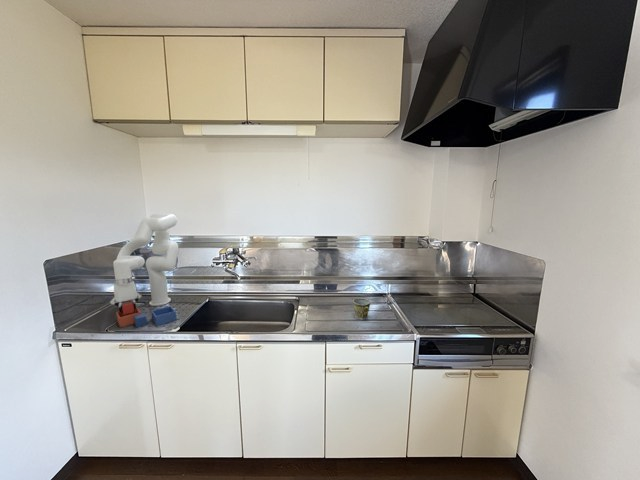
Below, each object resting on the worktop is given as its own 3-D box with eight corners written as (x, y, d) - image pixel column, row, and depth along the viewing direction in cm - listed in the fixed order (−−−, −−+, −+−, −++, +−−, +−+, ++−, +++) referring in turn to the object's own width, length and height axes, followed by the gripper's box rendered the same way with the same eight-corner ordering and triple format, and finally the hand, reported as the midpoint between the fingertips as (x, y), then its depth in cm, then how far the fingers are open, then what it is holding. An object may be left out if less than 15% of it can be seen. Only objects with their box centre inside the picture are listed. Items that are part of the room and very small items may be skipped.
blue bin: (152, 319, 157) (151, 310, 156) (171, 314, 164) (170, 305, 163) (156, 325, 150) (155, 316, 149) (176, 320, 157) (175, 311, 156)
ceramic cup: (349, 315, 163) (350, 299, 161) (364, 312, 166) (364, 297, 165) (360, 324, 151) (361, 308, 149) (376, 321, 154) (376, 305, 153)
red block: (122, 311, 154) (120, 303, 154) (132, 309, 158) (131, 301, 157) (123, 314, 151) (122, 306, 150) (134, 311, 154) (133, 303, 153)
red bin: (117, 321, 156) (116, 312, 155) (138, 315, 163) (137, 306, 162) (120, 327, 148) (118, 318, 147) (141, 321, 155) (140, 312, 154)
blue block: (134, 324, 152) (133, 316, 151) (145, 321, 155) (144, 313, 154) (136, 327, 148) (135, 319, 147) (147, 324, 152) (146, 316, 151)
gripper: (140, 276, 160) (144, 305, 163) (104, 282, 148) (108, 313, 151) (143, 279, 154) (146, 309, 157) (105, 286, 143) (110, 318, 146)
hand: (127, 311), depth 154 cm, fingers closed on red block, 5 cm apart
